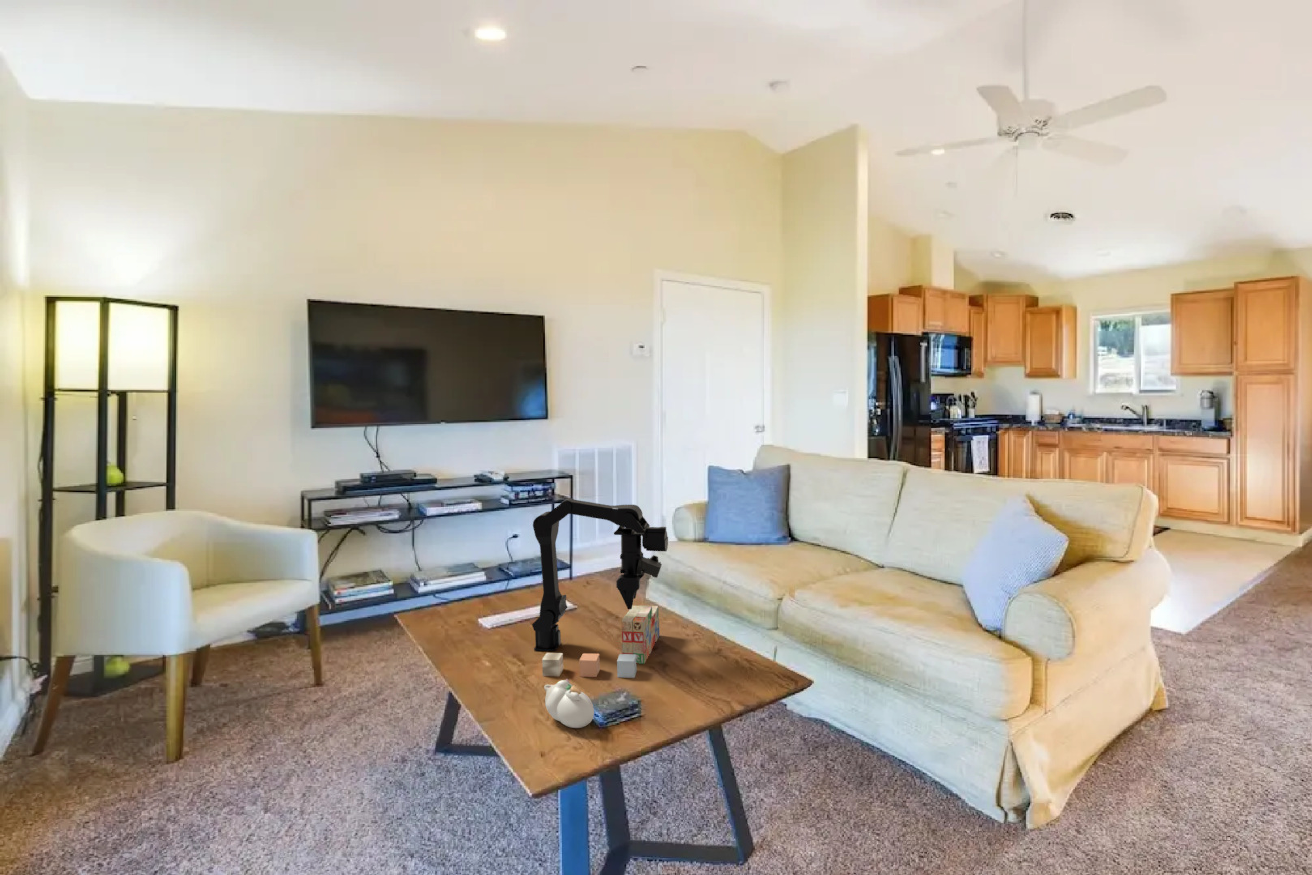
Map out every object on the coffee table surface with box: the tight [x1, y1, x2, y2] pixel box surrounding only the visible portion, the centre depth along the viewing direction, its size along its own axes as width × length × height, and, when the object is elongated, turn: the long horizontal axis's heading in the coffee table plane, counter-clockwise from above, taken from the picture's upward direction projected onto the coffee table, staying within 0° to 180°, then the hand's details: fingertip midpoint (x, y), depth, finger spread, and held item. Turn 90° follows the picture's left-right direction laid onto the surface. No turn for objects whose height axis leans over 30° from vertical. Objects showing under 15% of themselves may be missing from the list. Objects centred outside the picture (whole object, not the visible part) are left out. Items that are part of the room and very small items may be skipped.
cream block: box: [541, 652, 564, 677], centre depth 177 cm, size 4×4×4 cm
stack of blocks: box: [621, 605, 660, 665], centre depth 192 cm, size 21×6×12 cm, turn 168°
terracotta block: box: [578, 652, 601, 678], centre depth 176 cm, size 4×4×4 cm
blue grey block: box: [616, 653, 638, 679], centre depth 175 cm, size 4×4×4 cm
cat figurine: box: [543, 678, 595, 729], centre depth 151 cm, size 10×8×15 cm
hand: (631, 603), depth 190 cm, fingers open, 9 cm apart
